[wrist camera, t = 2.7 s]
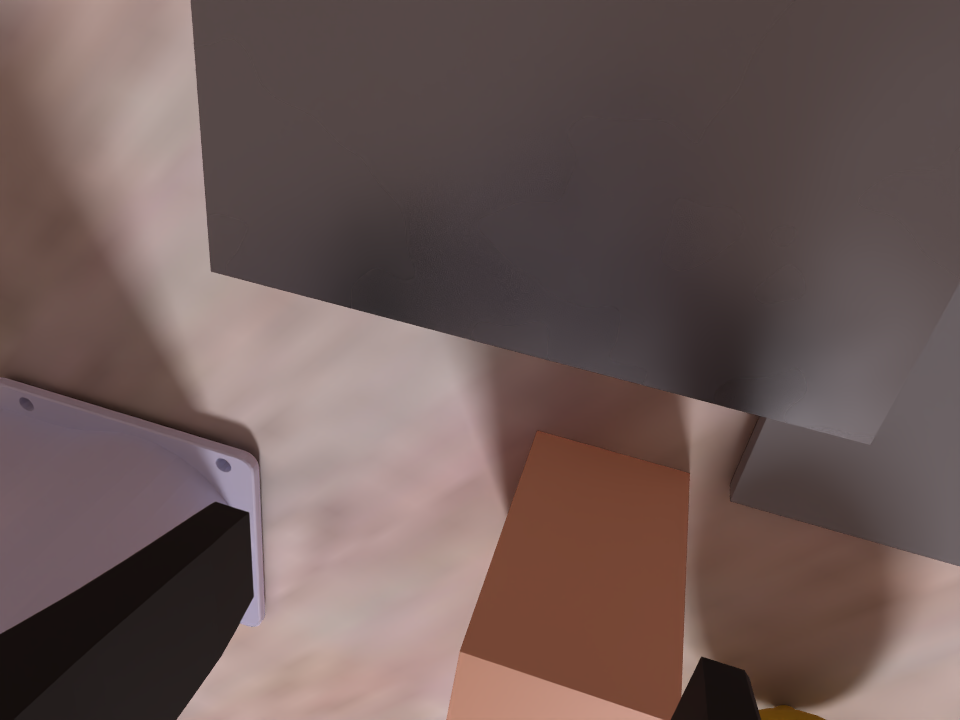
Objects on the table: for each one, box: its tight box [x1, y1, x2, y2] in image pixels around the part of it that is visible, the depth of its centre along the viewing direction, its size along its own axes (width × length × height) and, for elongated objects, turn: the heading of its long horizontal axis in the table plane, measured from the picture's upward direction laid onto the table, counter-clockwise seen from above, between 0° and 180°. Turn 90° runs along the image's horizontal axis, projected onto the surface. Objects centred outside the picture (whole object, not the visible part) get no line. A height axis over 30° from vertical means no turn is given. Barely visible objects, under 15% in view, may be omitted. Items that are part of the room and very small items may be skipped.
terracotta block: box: [446, 431, 690, 720], centre depth 17 cm, size 4×4×7 cm
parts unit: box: [191, 0, 960, 445], centre depth 11 cm, size 9×6×7 cm, turn 84°
